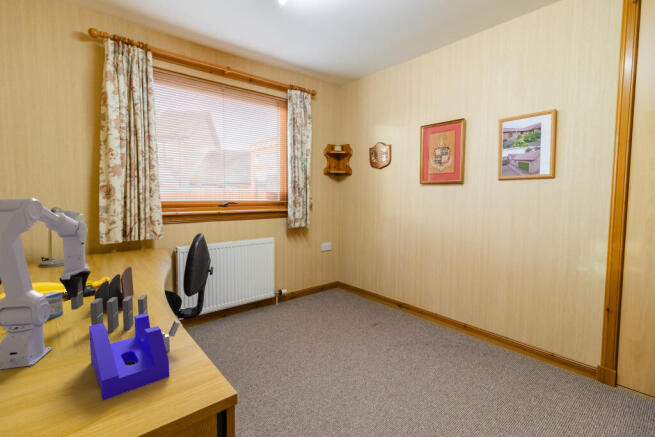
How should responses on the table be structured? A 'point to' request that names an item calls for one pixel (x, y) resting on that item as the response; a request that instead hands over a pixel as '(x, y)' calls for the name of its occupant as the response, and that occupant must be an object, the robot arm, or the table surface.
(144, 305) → the end domino
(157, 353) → the bracket
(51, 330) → the table surface
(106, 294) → the letter holder
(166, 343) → the lighter
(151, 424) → the table surface
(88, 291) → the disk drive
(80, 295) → the domino
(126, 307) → the domino
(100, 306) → the domino
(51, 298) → the medicine box
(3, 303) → the robot arm
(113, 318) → the domino
